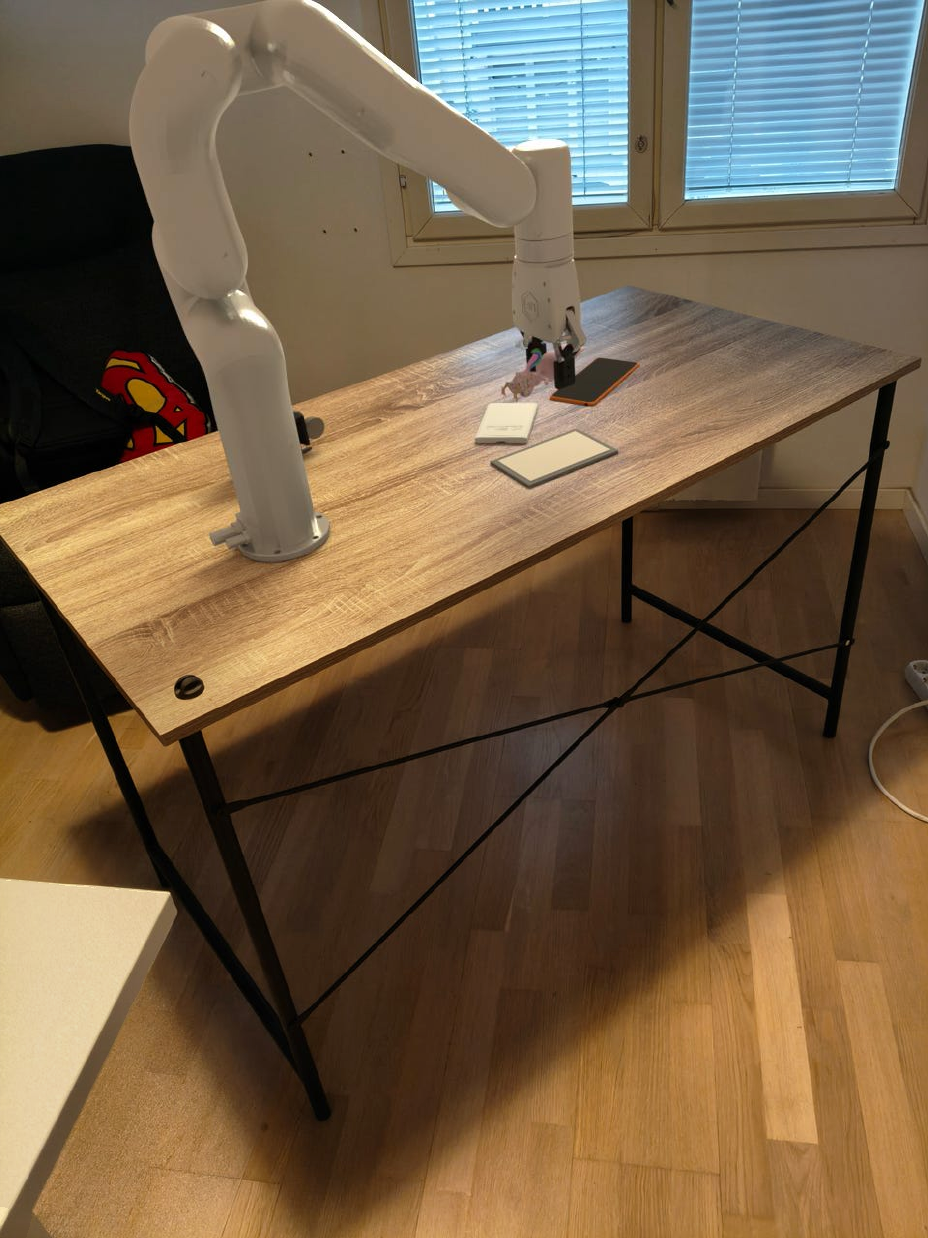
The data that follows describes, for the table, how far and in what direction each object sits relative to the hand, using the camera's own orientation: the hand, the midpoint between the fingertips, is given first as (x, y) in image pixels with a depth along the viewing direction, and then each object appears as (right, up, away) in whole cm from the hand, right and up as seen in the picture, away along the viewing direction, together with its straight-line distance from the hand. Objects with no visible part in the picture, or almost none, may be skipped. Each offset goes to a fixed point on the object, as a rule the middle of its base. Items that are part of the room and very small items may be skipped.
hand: (551, 378), depth 134 cm
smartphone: (+10, +6, +29) cm, 31 cm away
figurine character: (-41, -9, +16) cm, 45 cm away
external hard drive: (-5, -4, +18) cm, 19 cm away
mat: (+1, -10, +7) cm, 12 cm away
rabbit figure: (-1, -1, 0) cm, 1 cm away
